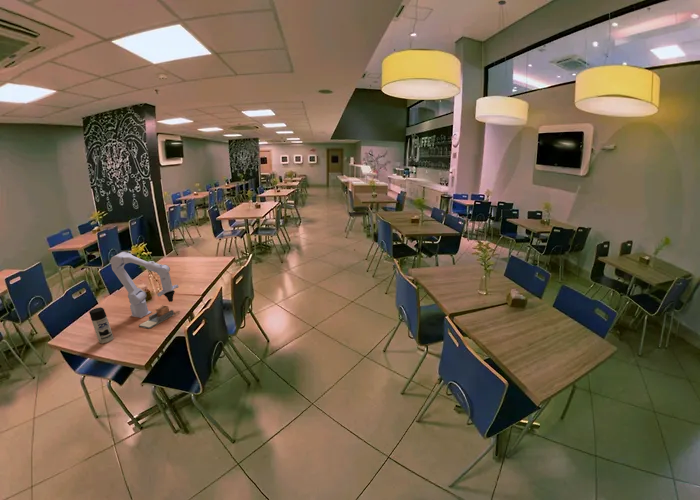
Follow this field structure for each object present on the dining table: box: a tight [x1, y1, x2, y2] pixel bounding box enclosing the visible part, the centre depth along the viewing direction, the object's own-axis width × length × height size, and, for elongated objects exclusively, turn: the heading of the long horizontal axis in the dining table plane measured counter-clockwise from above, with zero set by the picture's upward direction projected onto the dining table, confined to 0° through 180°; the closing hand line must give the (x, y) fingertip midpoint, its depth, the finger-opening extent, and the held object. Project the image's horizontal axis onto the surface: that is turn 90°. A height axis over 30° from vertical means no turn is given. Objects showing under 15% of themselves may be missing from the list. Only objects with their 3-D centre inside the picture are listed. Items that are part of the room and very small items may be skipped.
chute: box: [138, 309, 175, 330], centre depth 187 cm, size 9×18×3 cm, turn 162°
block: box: [155, 305, 170, 317], centre depth 191 cm, size 5×5×6 cm
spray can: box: [88, 306, 114, 344], centre depth 165 cm, size 7×7×20 cm
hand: (170, 301), depth 196 cm, fingers closed
